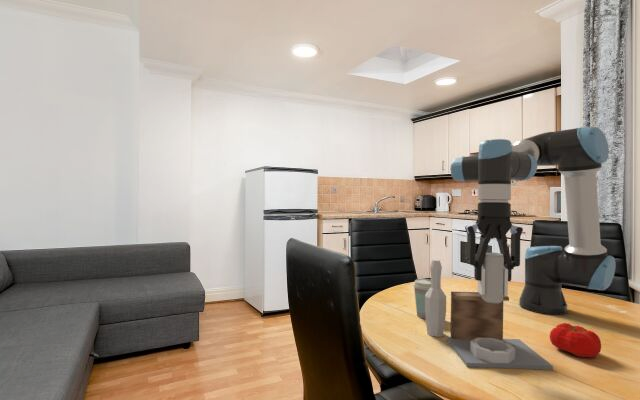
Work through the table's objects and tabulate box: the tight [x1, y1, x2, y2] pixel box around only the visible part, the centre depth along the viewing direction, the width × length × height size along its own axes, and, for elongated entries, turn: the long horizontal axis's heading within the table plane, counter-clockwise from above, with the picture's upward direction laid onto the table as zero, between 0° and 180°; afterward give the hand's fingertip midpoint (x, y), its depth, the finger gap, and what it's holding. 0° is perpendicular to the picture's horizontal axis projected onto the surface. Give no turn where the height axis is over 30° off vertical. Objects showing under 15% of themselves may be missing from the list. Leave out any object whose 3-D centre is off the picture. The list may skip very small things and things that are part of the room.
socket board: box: [446, 336, 554, 371], centre depth 94 cm, size 20×16×4 cm
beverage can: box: [482, 251, 504, 303], centre depth 90 cm, size 5×5×12 cm
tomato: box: [549, 322, 602, 358], centre depth 95 cm, size 10×11×6 cm
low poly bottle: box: [425, 259, 447, 338], centre depth 107 cm, size 6×6×22 cm
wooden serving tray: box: [450, 291, 510, 340], centre depth 99 cm, size 14×4×14 cm, turn 87°
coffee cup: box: [412, 278, 431, 320], centre depth 123 cm, size 8×8×12 cm
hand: (492, 293), depth 91 cm, fingers closed on beverage can, 5 cm apart
